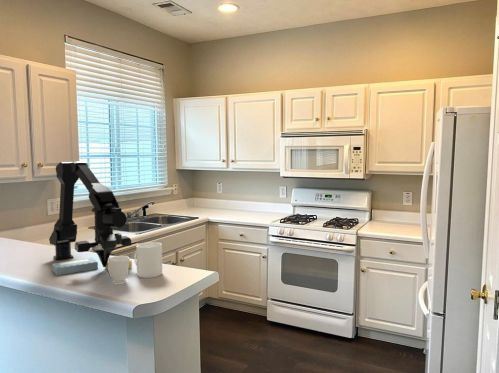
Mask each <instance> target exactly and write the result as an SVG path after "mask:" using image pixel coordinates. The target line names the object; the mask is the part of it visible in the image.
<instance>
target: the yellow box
mask: <svg viewBox="0 0 499 373" xmlns="http://www.w3.org/2000/svg"><path fill="white" fill-rule="evenodd" d="M132 266H133V262H132V260H131V259H130V260H129V268H128V269H130V268H133V267H132ZM104 268H105V269H106V270H108V262H107V265H106V267H104Z"/></svg>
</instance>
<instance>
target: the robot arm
mask: <svg viewBox="0 0 499 373" xmlns="http://www.w3.org/2000/svg"><path fill="white" fill-rule="evenodd" d="M92 171H93V170H92V169H90V167H89V164H88V162H86V161H79V160H78V161H60V162H58V163H57V165H56V166H55V173H56V178H57V180H58V181H59V183H60V193H59V213H58V219H57V221H56V222H55V223H54V226H53V230H52V233H51V235H50V236H49V238H48V240H49V245H51V246H52V245H53V246H54V247H55V249H54V250H55V255H53V258H54V259H55V260H56V261H59V260H60V261H61V260H66V259H73V258H74V256H73V254H72V249H71V245H72V244H71V243H74V250H75V251H76V252H78V253H83V252H89V251H90V249H91V250H92V251H93V252H94V253H96V255H97V257H98V258H99V260H100V264H101V265H102V267H103V268H105V267H106V265H107V262H108V258H110V256H111V254H112V252H113V251H116V249H117V245H121V246H123V247H129V246H130V247H131V246H132V239H131V238H130V237H129V236H127V235H122V233H121V232H116V233H114V231H113V228H119V229H120V228H123V227H124V226H125V225H126V223H127V221H128V218H127V214H126V213H124V212H123V211H122V208H121V207H120V204H119V202H118V201H117V199H116V196H115V193H114V192H113V191H112V190H111V189H110V188H109V187H108V186H106V185H104V184H102V183H101V182H100V181H99V179H98V178H97V177H96V176H95V173H94V172H92ZM78 180H80V181H81V183H82V184H83V185H84V187H85V189H87V191H88V199H89V201H90V204H91V205H92V206H93V208H92V209H91V212H92V213H93V215H94V242H92V241H91V242H89V241H88V240H81V241H77V236H78V224H76V223H75V222H74V220H73V214H74V197H75V196H74V195H75V184H76V183H77V182H78Z"/></svg>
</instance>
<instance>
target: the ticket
mask: <svg viewBox="0 0 499 373" xmlns="http://www.w3.org/2000/svg"><path fill="white" fill-rule="evenodd" d="M51 265H52V267H51V268H52V272H53V273H54V274H55V276H62V275H66V274H67V273H68V274H73V273H79V272H80V273H81V272H86V271H91V270H97V269H99V262H98V261H97V260H95V259H94V258H93V257H89V258H81V259H76V260H75V259H74V260H68V261H61V262H56V263H52V264H51ZM61 274H62V275H61Z"/></svg>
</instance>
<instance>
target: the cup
mask: <svg viewBox="0 0 499 373" xmlns="http://www.w3.org/2000/svg"><path fill="white" fill-rule="evenodd" d="M130 258H131V257H129V255H128V256H127V255H117V256H111V257H109V258H108V269H107V270H108V271H107V272H108V273H109V276H110V278H111V279H112V284H113V285H123V284H125V283H127V278H128V273H129V269H130V268H129V260H131V259H130Z"/></svg>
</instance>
